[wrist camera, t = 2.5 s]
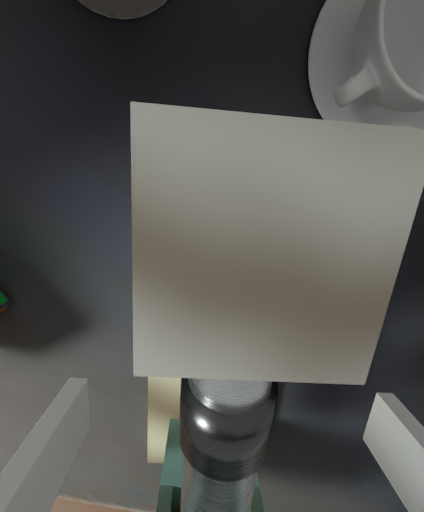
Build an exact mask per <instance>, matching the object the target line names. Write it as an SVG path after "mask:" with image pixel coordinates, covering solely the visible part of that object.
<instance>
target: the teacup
mask: <svg viewBox="0 0 424 512" xmlns="http://www.w3.org/2000/svg"><path fill="white" fill-rule="evenodd" d="M308 76H309V84H310V89H311V93H312V97H313V100H314V103H315V105H316V107H317V110H318V111H319V113H320V115H321V117H322V118H323V120H331V121H342V122H352V123H363V124H373V125H384V126H394V127H405V128H415V129H424V0H326V2H325V3H324V5H323V7H322V9H321V11H320V13H319V16H318V18H317V21H316V24H315V26H314V29H313V33H312V37H311V42H310V47H309V56H308Z"/></svg>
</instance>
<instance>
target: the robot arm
mask: <svg viewBox="0 0 424 512" xmlns="http://www.w3.org/2000/svg"><path fill="white" fill-rule="evenodd" d="M90 428H91V424H90V409H89V395H88V380H87V378H69V379H68V381H67V382H66V383H65V385H64V386H63V388H62V389H61V390H60V392H59V393H58V394H57V396H56V397H55V399H54V400H53V401H52V403H51V404H50V405H49V407H48V408H47V410H46V411H45V412H44V414H43V415H42V416H41V418H40V419H39V421H38V422H37V423H36V425H35V426H34V427H33V429H32V430H31V432H30V433H29V434H28V436H27V437H26V438H25V440H24V441H23V443H22V444H21V445H20V447H19V448H18V449H17V451H16V452H15V454H14V455H13V456H12V458H11V459H10V460H9V462H8V463H7V465H6V466H5V467H4V469H3V470H2V471H1V473H0V512H50V510H51V507H52V506H53V504H54V502H55V500H56V497H57V495H58V493H59V491H60V489H61V487H62V485H63V483H64V481H65V479H66V477H67V475H68V473H69V471H70V469H71V467H72V465H73V463H74V461H75V459H76V456H77V454H78V452H79V450H80V448H81V446H82V444H83V442H84V440H85V438H86V436H87V434H88V432H89V430H90ZM363 440H364V442H365V443H366V445H367V446H368V448H369V450H370V451H371V453H372V454H373V456H374V458H375V459H376V461H377V462H378V464H379V466H380V467H381V469H382V470H383V472H384V474H385V475H386V477H387V478H388V480H389V482H390V483H391V485H392V486H393V488H394V490H395V491H396V493H397V495H398V496H399V498H400V499H401V501H402V503H403V504H404V506H405V507H406V509H407V511H408V512H424V427H423V426H422V425H421V424H420V423H419V422H418V421H417V419H416V418H415V417H414V416H413V415H412V414H411V413H410V412H409V411H408V410H407V408H406V407H405V406H404V405H403V404H402V403H401V402H400V401H399V400H398V398H397V397H396V396H395V395H394V394H393V393H378V392H377V393H376V396H375V399H374V403H373V406H372V409H371V413H370V416H369V419H368V422H367V426H366V429H365V432H364V435H363Z"/></svg>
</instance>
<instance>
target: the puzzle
mask: <svg viewBox="0 0 424 512" xmlns="http://www.w3.org/2000/svg"><path fill="white" fill-rule="evenodd" d="M12 303H13V302H12V301H11V300H10V299H9V298H8V297H7V296H6V294H5V293H4V292H3V291H2V290H1V289H0V313H1V312H3V311H4V310H6V309H7V308H6V307H7V306H9V305H10V304H12Z"/></svg>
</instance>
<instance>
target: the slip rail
mask: <svg viewBox="0 0 424 512" xmlns="http://www.w3.org/2000/svg"><path fill="white" fill-rule="evenodd" d="M130 114H131V198H132V282H133V366H134V376H146V377H148V463H163V470H162V477H161V484H160V490H159V497H158V504H157V511H156V512H180V505H181V489H182V472H183V455H184V454H183V452H182V450H181V447H180V443H179V436H178V433H179V412H180V393H181V378H197V379H223V380H249V381H274V382H300V383H326V384H352V385H365V382H366V379H367V376H368V372H369V369H370V365H371V362H372V359H373V355H374V352H375V349H376V345H377V342H378V338H379V335H380V332H381V328H382V325H383V322H384V318H385V315H386V311H387V308H388V305H389V301H390V298H391V295H392V291H393V288H394V284H395V281H396V278H397V274H398V271H399V268H400V264H401V261H402V257H403V254H404V251H405V247H406V244H407V241H408V237H409V234H410V230H411V227H412V224H413V220H414V217H415V214H416V210H417V207H418V203H419V200H420V197H421V193H422V190H423V187H424V129H415V128H405V127H394V126H384V125H373V124H363V123H352V122H342V121H331V120H321V119H310V118H300V117H289V116H279V115H268V114H258V113H247V112H237V111H226V110H216V109H205V108H195V107H184V106H174V105H163V104H153V103H142V102H132V101H130ZM250 512H264V510H263V504H262V499H261V493H260V488H259V483H258V477H257V474H256V480H255V486H254V491H253V497H252V503H251V509H250Z"/></svg>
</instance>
